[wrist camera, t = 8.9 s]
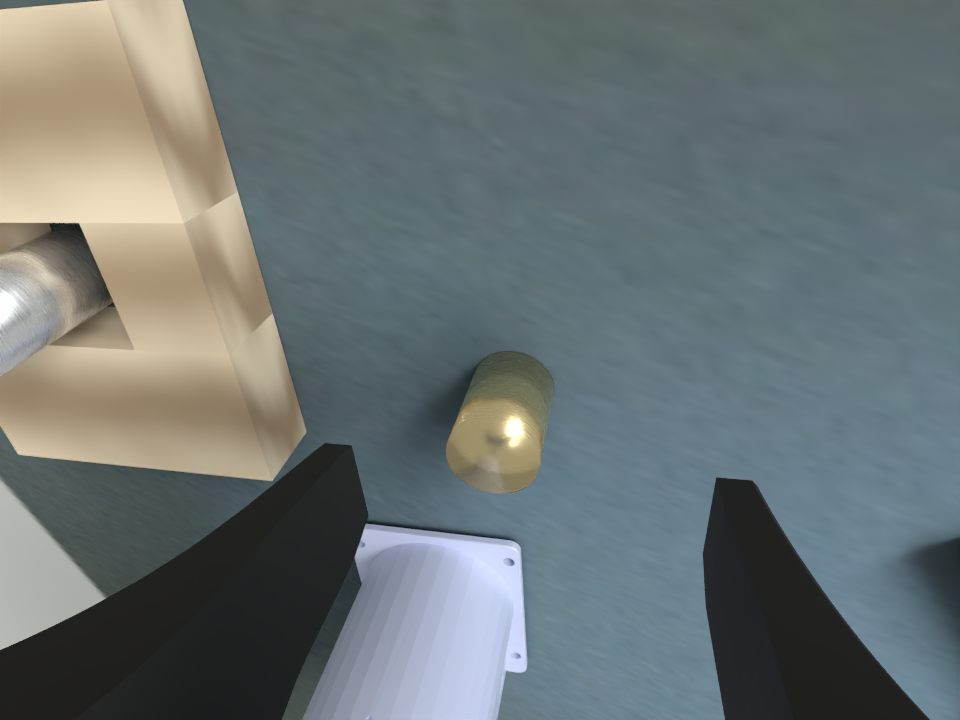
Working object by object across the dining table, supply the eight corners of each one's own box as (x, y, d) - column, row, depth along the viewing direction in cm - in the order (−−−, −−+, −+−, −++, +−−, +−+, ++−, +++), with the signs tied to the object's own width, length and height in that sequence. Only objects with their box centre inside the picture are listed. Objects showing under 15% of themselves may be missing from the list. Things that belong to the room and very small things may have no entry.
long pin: (160, 288, 24) (8, 394, 18) (94, 285, 24) (-74, 387, 18) (132, 212, 22) (-46, 302, 16) (62, 211, 23) (-133, 297, 17)
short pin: (554, 421, 23) (540, 498, 20) (476, 415, 24) (450, 489, 20) (553, 353, 21) (538, 424, 18) (469, 349, 22) (441, 417, 19)
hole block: (306, 431, 26) (272, 481, 24) (71, 411, 29) (18, 454, 26) (180, -6, 18) (106, 0, 15) (-138, 22, 20) (-246, 31, 18)
